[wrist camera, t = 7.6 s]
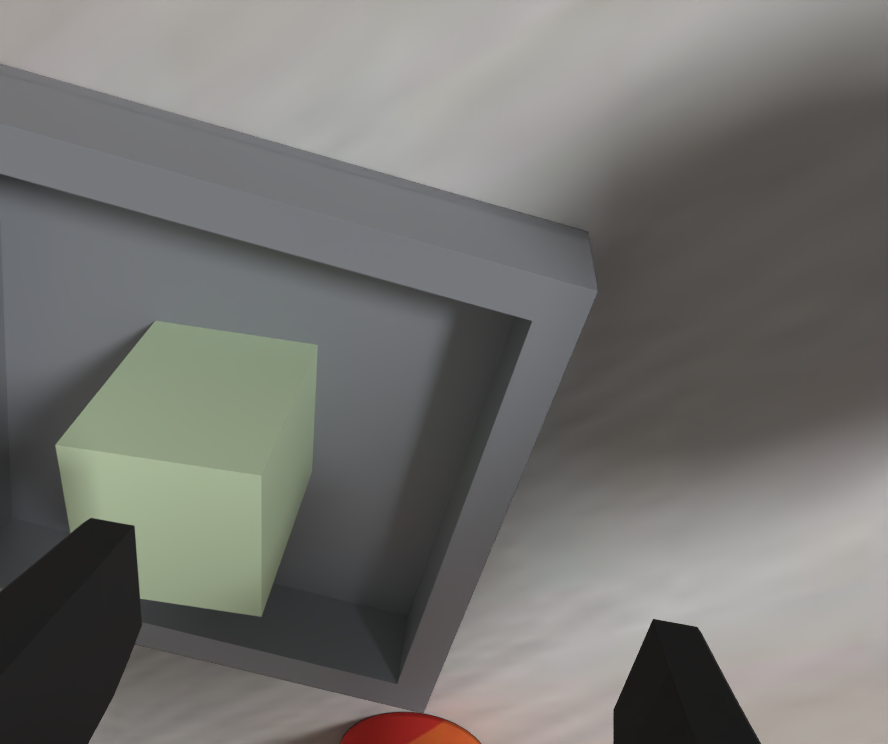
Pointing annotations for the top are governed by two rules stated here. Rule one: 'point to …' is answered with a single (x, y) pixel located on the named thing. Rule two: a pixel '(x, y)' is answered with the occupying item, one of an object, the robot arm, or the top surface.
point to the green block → (198, 460)
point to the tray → (295, 319)
